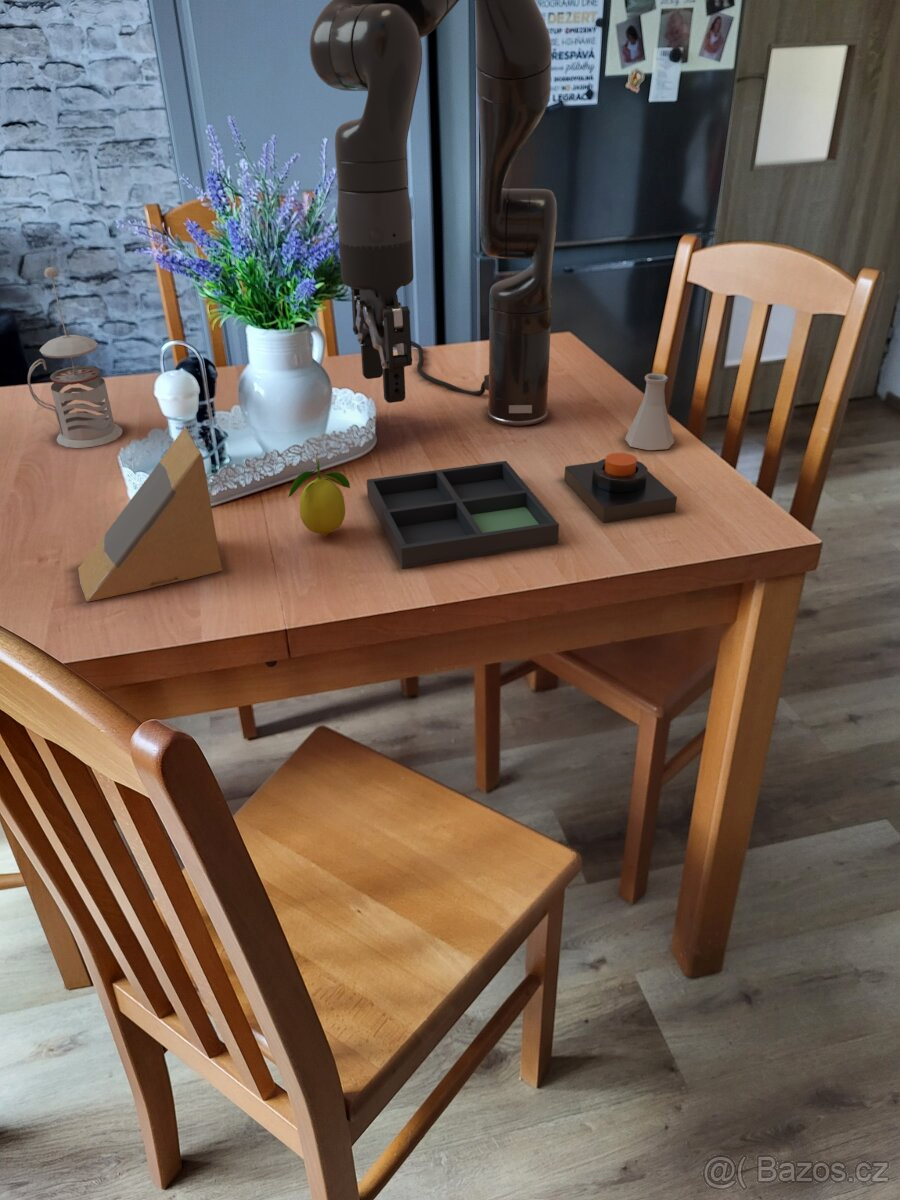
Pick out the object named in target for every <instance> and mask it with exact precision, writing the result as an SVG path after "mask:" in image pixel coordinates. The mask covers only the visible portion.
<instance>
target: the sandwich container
mask: <svg viewBox="0 0 900 1200" xmlns="http://www.w3.org/2000/svg"><path fill="white" fill-rule="evenodd" d="M208 485H209V484H208V479H207V473H206V466H205V461H204V456H203V454H202V452H201V450H200V449H199V447H198V446H197V444H196V442H195V441H194V439H193V437H192V435H191V433H190V431H189V429H188V428H187V427H186V426H184V427H183V428H182V429H181V431H180V432H179V434H178V435H177V436H176V438H175V439H174V441H173V442H172V443H171V445H170V447H168V449H167V451H166V452H165V453H164V455H163V456H162V457H161V459H160V460H159V461H158V463H157V464H156V466H155V467H154V468H153V470H152V471H151V472H150V473H149V475H148V477H147V478H146V479H145V481H144V482H143V484H141V486H140V487H139V489H137V491H136V492H135V494H134V495H133V496H132V498H131V499H130V500H129V502H128V503H127V504H126V506H125V507H124V508H123V510H122V511H121V512H120V513H119V515H118V516H117V517H116V519H115V520H114V522H113V523H112V524H111V525H110V527H109V528H108V529H107V531H106V532H105V534H104V535H103V536H102V537H101V539H100V540H99V541H98V542H97V544H96V545H95V546H94V548H93V549H92V550H91V551H90V553H89V554H88V555H87V556H86V558H85V559H84V561H83V562H82V563H81V564H80V566H79V567H78V569H77V571H78V578H79V585H80V587H81V590H82V593H83V596H84V598H85V601H86V602H88V603H90V602H94V601H98V600H102V599H106V598H107V599H108V598H112V597H117V596H120V595H121V596H122V595H125V594H126V595H127V594H131V593H135V592H140V591H145V590H149V589H152V588H156V587H161V586H165V585H169V584H173V583H178V582H183V581H188V580H192V579H194V578H195V579H196V578H199V577H203V576H208V575H211V574H215V573H218V572H222V571H223V568H222V562H221V556H220V555H221V554H220V550H219V544H218V538H217V533H216V526H215V521H214V514H213V508H212V503H211V497H210V491H209V486H208Z"/></svg>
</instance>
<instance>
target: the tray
mask: <svg viewBox="0 0 900 1200" xmlns="http://www.w3.org/2000/svg"><path fill="white" fill-rule="evenodd" d="M366 490H367V499H368V502H369V503H370V506H371V507H372V509H373V511H374V514H375V516H376V518H377V520H378V522H379V524H380V527H381V528H382V530H383V533H384V535H385V536H386V539H387V541H388V543H389V544H390V546H391V549H392V552H393V553H394V555H395V557H396V559H397V561H398V563H399V565H400V567H401V569H402V570H403V569H409V568H415V567H416V568H417V567H420V566H421V567H422V566H428V565H434V564H440V563H441V564H442V563H447V562H453V561H459V560H466V559H471V558H478V557H484V556H491V555H497V554H503V553H510V552H514V551H515V552H516V551H521V550H526V549H527V550H528V549H533V548H539V547H540V548H541V547H546V546H547V547H548V546H553V545H558V544H559V532H560V523H559V522H558V521H557V520H556V519H555V518H554V516H553V515H552V514H551V513H550V512H549V510H547V508H546V507H545V506H544V505H543V503H542V502H541V501H540V500H539V499H538V497H537V496H536V495H535V494H534V492H533V491H532V490H531V489H530V487H529V486H528V485H527V484H526V482H524V480H523V479H522V478H521V476H519V474H518V473H517V472H516V471H515V469H514V468H513V466H512V465H510V463H509V462H508V461H507V460H501V461H494V462H488V463H479V464H473V465H465V466H457V467H451V468H442V469H435V470H434V469H433V470H427V471H420V472H413V473H412V472H411V473H405V474H398V475H391V476H384V477H375V478H369V479H366Z"/></svg>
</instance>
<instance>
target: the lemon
mask: <svg viewBox="0 0 900 1200" xmlns="http://www.w3.org/2000/svg"><path fill="white" fill-rule="evenodd" d="M316 471H317V478H316V479H314V480H312V481H310V482H309V483H307V484H306V485H305V487H304V488H303V490H302V492H301V494H300V498H299V515H300V520H301V522H302V524H303V525H304V527H306V528H307V529H308V530H309V531H310V532H312V533H316V534H321V535H322V536H324V537H327V536H329V534H330V533H331V532H334V531H336V530H338V529H339V528H340V527H341V526H342V524H343V522H344V519H345V516H346V504H345V498H344V495H343V492H342V490H341V489H340V488H339V487H338V485H339V486H341V487H344V488H348V489H351V486H350V481H349V479H348V478H347V477H346V476H345V475H344V474H343V473H341V472H339V471H332V472H326V473H323V472H321V470H320V460H318V459H317V460H316V468H315V469H313V470H306V471H303V472H302V473H300V474H298V475H297V476H296V478H295V479H294V481H293V483H292V485H291V487H290V490H289V493H288V497H287V498H288V499H289V498H290V497H292V496H293V495H294V494H295V492H296V491H297V490H298V489H299V487H301V486H302V484H304V482H305V481H307V480H308V479H309V478H310V477H311V476H312V475H313V474H314V473H315V472H316ZM321 475H323V476H324V478H323V477H321Z"/></svg>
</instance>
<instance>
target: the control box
mask: <svg viewBox="0 0 900 1200" xmlns="http://www.w3.org/2000/svg"><path fill="white" fill-rule="evenodd" d="M605 459H606V458H603V459H601V460H599V461H593V462H587V463H580V464H573V465H566V466H564V476H563V477H564V479H563V482H565V484H566V485H567V486H568V487H569V488H570V489H571V490H572V491H573V492H574V493H575V494H576V495H577V497H578V498H579V499H580V500H581V501H582V502H583V503H584V504H585V505H586V506H587V507H588V509H589V510H590V511H591V512H592V513H593V515H595V516H596V517H597V519H599V521H600V522H601V523H602V524H607V523H613V522H614V523H615V522H620V521H628V520H632V519H633V520H634V519H638V518H639V519H640V518H646V517H647V518H648V517H651V516H652V517H653V516H659V515H664V514H665V515H666V514H671V513H672V514H673V513H676V509H677V501H678V497H677V495H676V494H674V493H673V492H672V491H671V490H670V489H669V488H668V487H666V485H664V483H662V482H661V481H660V480H658V478H657V477H656V476H654V475H653V474H652V473H651V472H650V471H648V467H647V466H646V465H645V464H644V463H643V462H641V461H639V460H637V464H636V473H635V474H633V475H630V476H614V475H611V474H608V473H606V472H605Z"/></svg>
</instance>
